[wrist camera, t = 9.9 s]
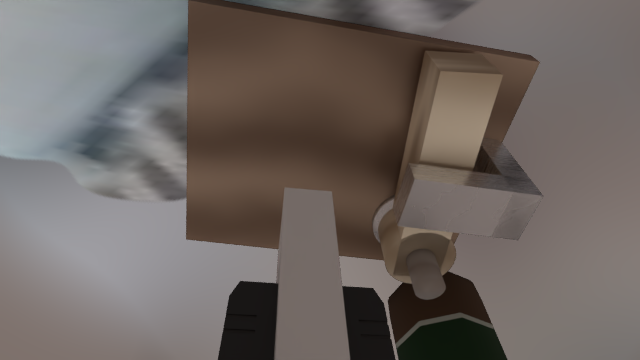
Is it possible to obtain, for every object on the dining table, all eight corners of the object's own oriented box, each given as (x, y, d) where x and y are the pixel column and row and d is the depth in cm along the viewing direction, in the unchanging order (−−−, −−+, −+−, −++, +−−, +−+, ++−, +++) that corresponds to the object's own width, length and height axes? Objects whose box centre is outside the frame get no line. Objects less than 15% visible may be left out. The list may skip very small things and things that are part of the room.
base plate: (439, 255, 34) (443, 266, 33) (189, 228, 31) (186, 239, 30) (530, 55, 25) (540, 62, 24) (193, -5, 22) (188, 0, 21)
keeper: (447, 251, 32) (473, 316, 27) (357, 242, 31) (368, 307, 26) (499, 140, 27) (543, 196, 22) (393, 124, 26) (414, 178, 21)
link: (435, 252, 31) (457, 314, 26) (373, 250, 30) (386, 313, 26) (493, 54, 23) (541, 96, 18) (411, 49, 22) (439, 90, 18)
